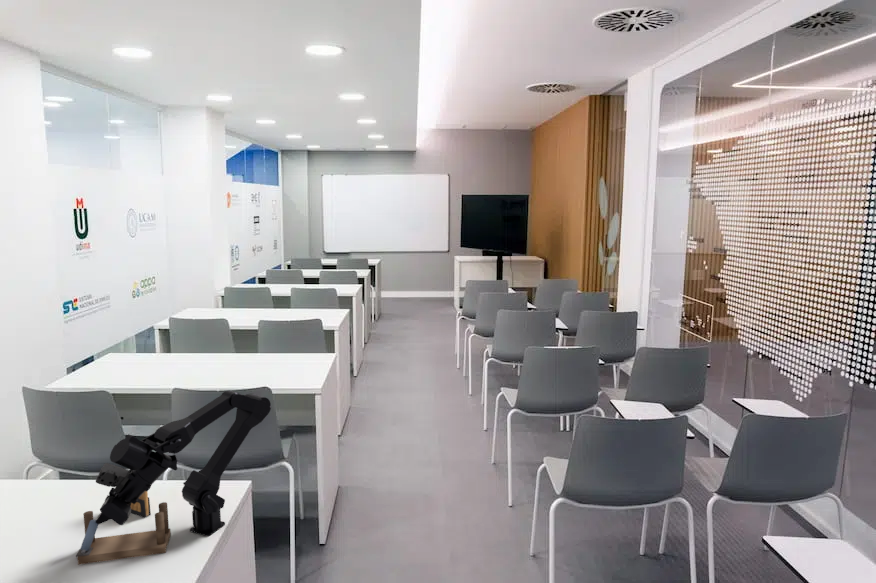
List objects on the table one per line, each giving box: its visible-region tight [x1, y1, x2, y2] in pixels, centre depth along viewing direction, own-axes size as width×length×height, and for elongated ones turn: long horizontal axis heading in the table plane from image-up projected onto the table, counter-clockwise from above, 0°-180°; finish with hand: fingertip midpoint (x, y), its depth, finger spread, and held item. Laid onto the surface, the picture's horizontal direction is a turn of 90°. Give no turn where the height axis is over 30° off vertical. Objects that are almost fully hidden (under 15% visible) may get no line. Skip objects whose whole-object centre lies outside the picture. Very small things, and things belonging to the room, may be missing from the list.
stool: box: [75, 501, 172, 566], centre depth 147 cm, size 20×8×10 cm, turn 105°
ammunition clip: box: [130, 491, 152, 519], centre depth 166 cm, size 11×2×12 cm, turn 64°
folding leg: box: [79, 519, 99, 554], centre depth 143 cm, size 2×2×8 cm
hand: (97, 522), depth 143 cm, fingers closed, pressing on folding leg
